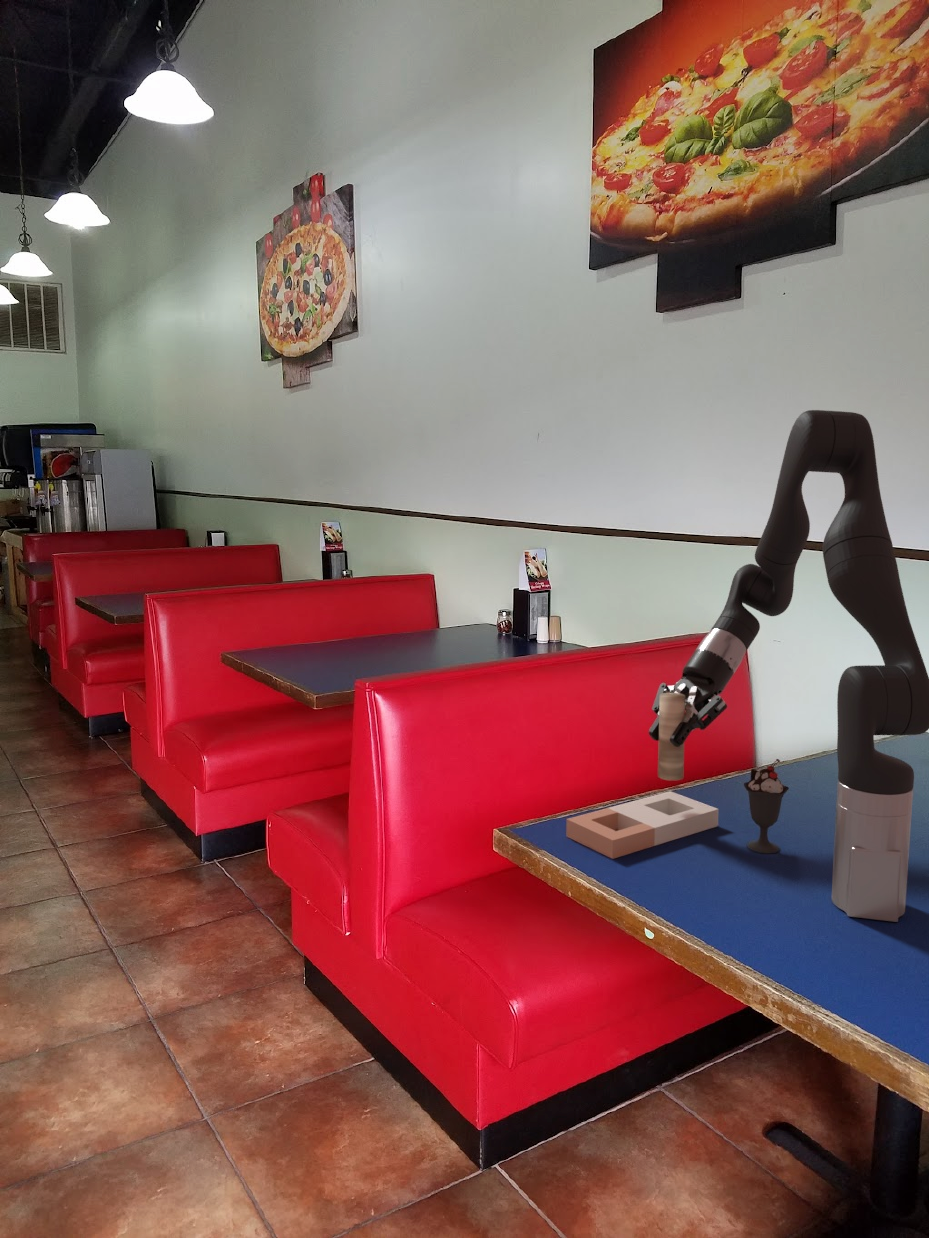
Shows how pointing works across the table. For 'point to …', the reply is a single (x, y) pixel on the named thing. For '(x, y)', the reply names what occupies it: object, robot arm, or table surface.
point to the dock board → (641, 824)
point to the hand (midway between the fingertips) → (663, 740)
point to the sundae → (765, 805)
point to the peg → (668, 722)
